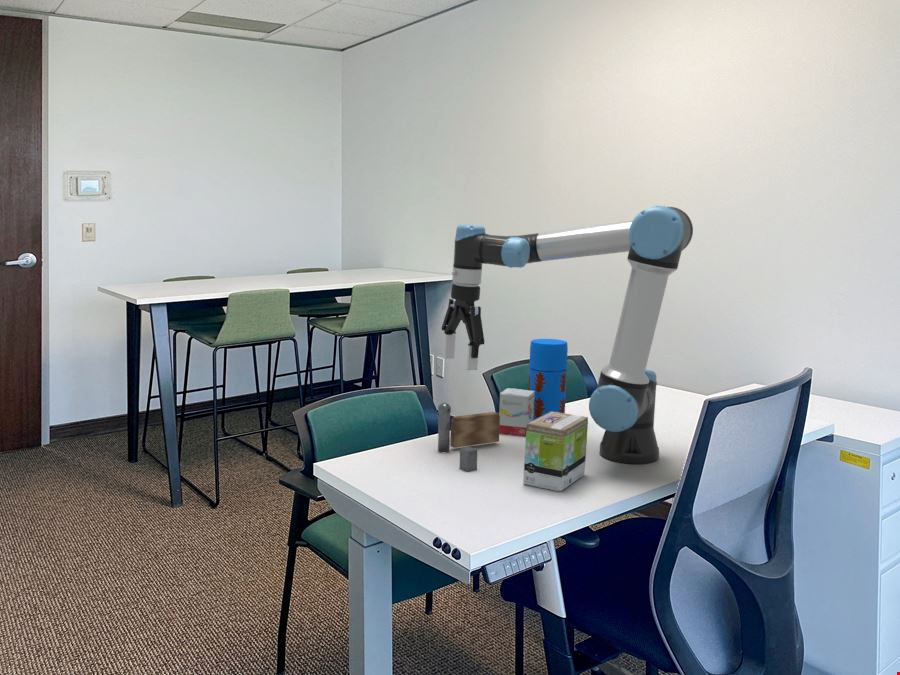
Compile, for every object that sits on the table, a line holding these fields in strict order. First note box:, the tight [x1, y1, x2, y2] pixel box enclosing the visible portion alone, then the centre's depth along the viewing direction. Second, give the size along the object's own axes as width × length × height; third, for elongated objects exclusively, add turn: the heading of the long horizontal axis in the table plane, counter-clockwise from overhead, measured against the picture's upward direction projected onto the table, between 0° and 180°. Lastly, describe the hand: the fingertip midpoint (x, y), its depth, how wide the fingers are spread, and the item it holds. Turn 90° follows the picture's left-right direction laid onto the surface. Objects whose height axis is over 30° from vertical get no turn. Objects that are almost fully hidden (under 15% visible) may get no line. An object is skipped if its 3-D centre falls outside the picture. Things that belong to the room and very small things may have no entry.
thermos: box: [528, 338, 569, 420], centre depth 239 cm, size 11×11×25 cm
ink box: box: [498, 387, 535, 437], centre depth 232 cm, size 9×9×12 cm
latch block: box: [459, 446, 479, 473], centre depth 198 cm, size 3×3×5 cm
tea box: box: [522, 411, 589, 492], centre depth 191 cm, size 15×10×15 cm
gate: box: [450, 411, 500, 449], centre depth 217 cm, size 14×2×8 cm, turn 119°
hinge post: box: [437, 402, 452, 453], centre depth 212 cm, size 3×3×13 cm
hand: (459, 364), depth 216 cm, fingers open, 13 cm apart
